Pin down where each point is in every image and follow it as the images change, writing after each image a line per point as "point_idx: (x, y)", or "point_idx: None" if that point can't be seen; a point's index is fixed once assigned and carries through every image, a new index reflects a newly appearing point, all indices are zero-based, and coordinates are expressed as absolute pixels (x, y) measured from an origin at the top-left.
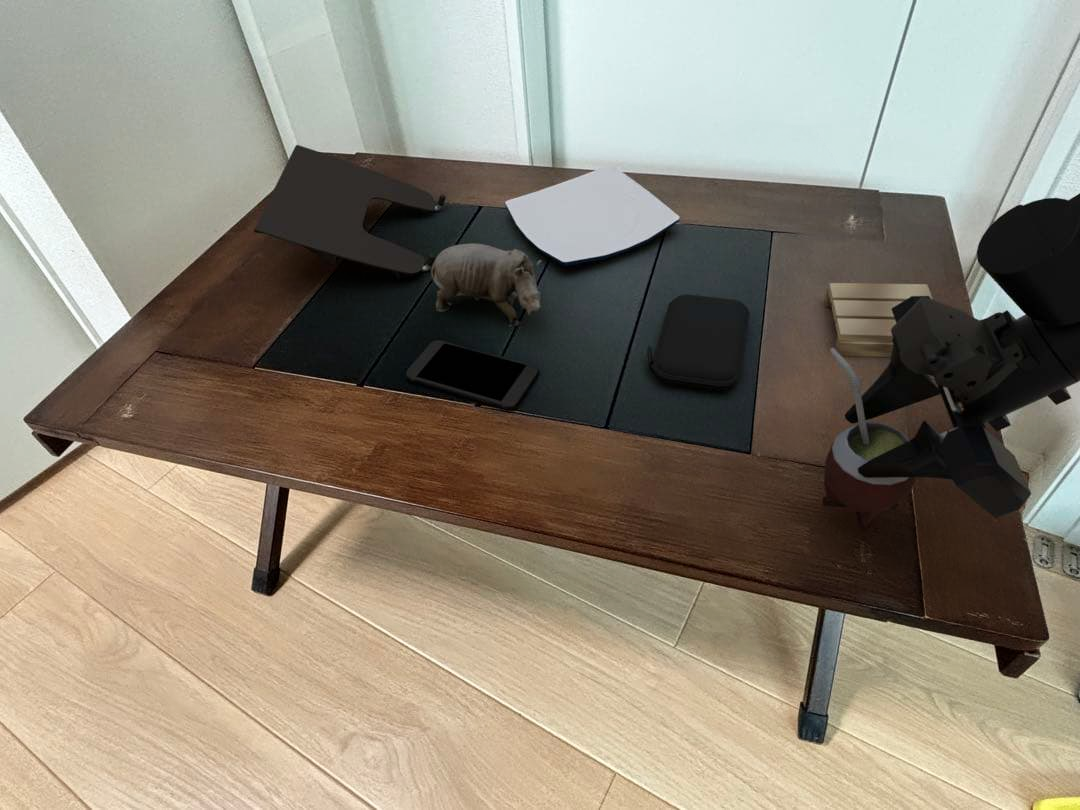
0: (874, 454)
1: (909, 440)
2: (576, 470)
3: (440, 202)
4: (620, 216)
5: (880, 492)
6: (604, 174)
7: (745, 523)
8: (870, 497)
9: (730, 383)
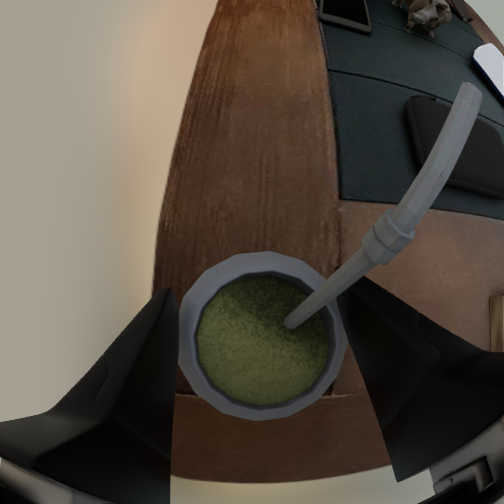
0: (235, 334)
1: (112, 408)
2: (268, 54)
3: (468, 19)
4: None
5: None
6: None
7: (228, 197)
8: None
9: None
